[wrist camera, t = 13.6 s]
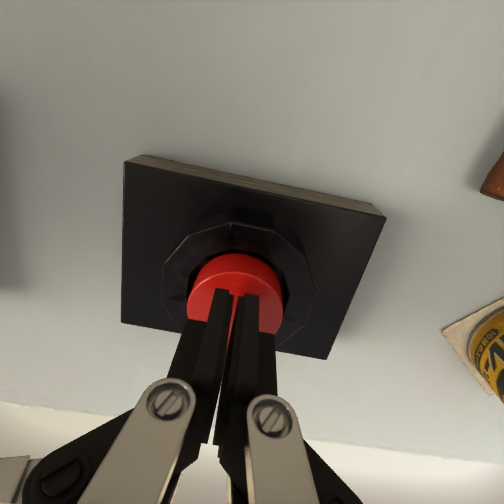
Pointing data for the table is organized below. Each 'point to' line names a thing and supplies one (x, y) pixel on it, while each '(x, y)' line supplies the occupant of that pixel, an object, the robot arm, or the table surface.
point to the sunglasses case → (495, 181)
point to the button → (238, 288)
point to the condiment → (482, 346)
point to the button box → (241, 246)
